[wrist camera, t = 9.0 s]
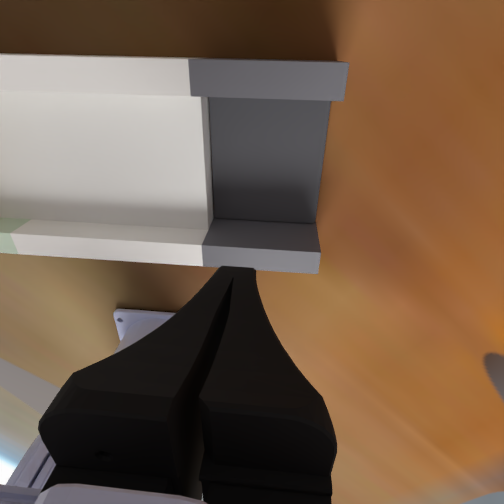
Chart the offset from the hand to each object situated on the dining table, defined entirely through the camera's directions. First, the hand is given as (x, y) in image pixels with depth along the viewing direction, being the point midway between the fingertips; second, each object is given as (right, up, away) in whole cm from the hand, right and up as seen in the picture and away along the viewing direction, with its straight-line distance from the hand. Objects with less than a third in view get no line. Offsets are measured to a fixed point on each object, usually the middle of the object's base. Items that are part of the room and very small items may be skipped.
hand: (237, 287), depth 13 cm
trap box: (-12, +8, +9) cm, 17 cm away
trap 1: (+1, +7, +8) cm, 11 cm away
